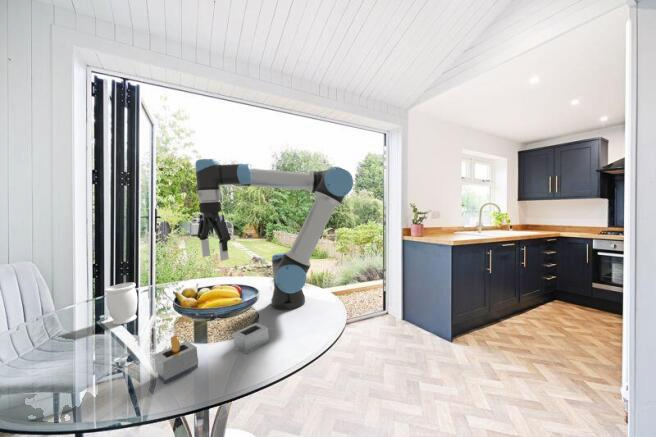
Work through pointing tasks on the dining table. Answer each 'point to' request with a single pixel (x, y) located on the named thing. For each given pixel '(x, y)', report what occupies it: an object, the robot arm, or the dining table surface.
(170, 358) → the grey rectangular block
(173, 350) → the grey base with post
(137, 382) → the dining table surface
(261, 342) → the grey slotted holder
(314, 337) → the dining table surface
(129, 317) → the jar
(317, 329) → the dining table surface
